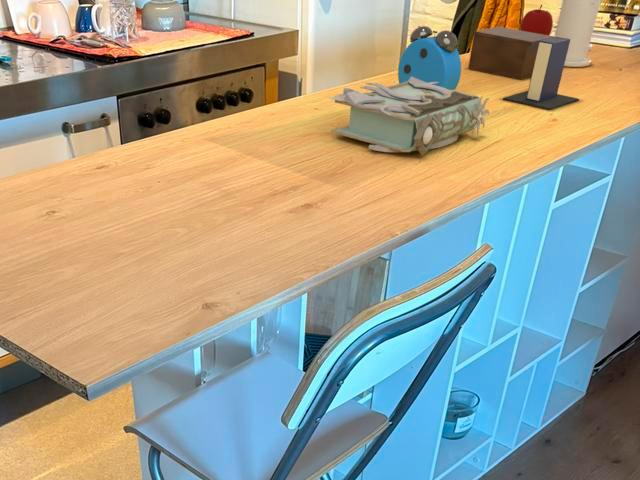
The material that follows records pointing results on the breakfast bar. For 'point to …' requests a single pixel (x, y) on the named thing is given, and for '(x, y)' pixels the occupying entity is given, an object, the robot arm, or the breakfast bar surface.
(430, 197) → the breakfast bar surface
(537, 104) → the mat
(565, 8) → the robot arm
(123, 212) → the breakfast bar surface
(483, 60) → the chest
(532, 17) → the apple
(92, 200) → the breakfast bar surface
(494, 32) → the lid
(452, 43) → the alarm clock
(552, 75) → the book
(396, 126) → the ornate book
